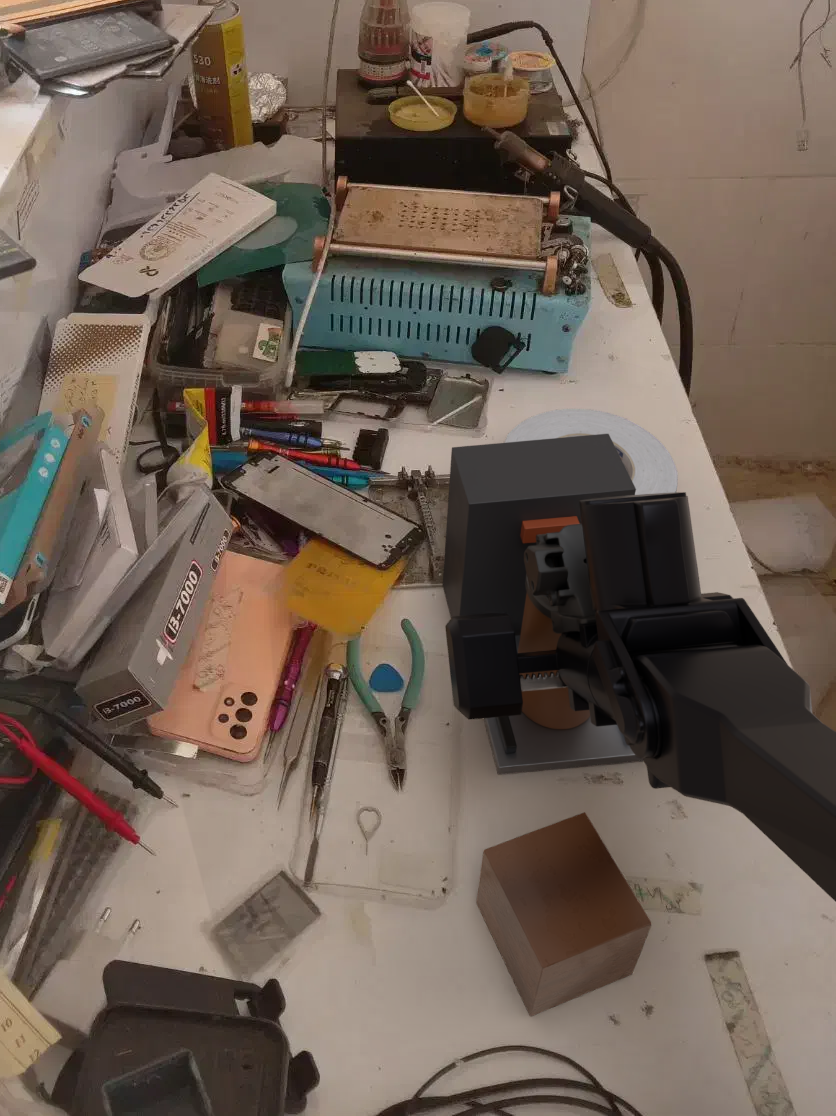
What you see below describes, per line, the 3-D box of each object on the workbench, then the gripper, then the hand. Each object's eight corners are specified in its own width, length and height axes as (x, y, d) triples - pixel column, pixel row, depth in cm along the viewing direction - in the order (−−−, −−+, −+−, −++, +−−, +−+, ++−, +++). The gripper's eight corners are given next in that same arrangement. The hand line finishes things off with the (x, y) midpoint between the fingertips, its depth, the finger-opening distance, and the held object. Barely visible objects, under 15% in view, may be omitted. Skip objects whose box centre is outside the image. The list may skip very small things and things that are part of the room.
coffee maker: (607, 637, 80) (640, 497, 70) (459, 651, 80) (471, 512, 70) (581, 572, 85) (608, 433, 76) (442, 584, 85) (451, 447, 75)
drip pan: (649, 760, 72) (654, 747, 70) (497, 775, 71) (499, 761, 70) (600, 634, 80) (603, 620, 79) (464, 647, 80) (466, 633, 79)
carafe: (609, 727, 73) (638, 615, 65) (522, 736, 73) (541, 624, 65) (576, 638, 79) (599, 525, 71) (496, 646, 79) (510, 534, 71)
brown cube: (632, 974, 61) (652, 923, 57) (530, 1017, 59) (542, 968, 55) (571, 865, 66) (585, 811, 62) (475, 902, 65) (483, 849, 60)
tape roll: (639, 593, 83) (649, 552, 80) (468, 527, 90) (472, 487, 87) (688, 479, 93) (699, 439, 90) (531, 427, 100) (536, 389, 97)
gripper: (777, 518, 58) (670, 513, 74) (459, 547, 58) (419, 536, 73) (807, 715, 57) (692, 668, 72) (481, 746, 56) (435, 691, 72)
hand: (558, 636), depth 72 cm, fingers open, 9 cm apart
